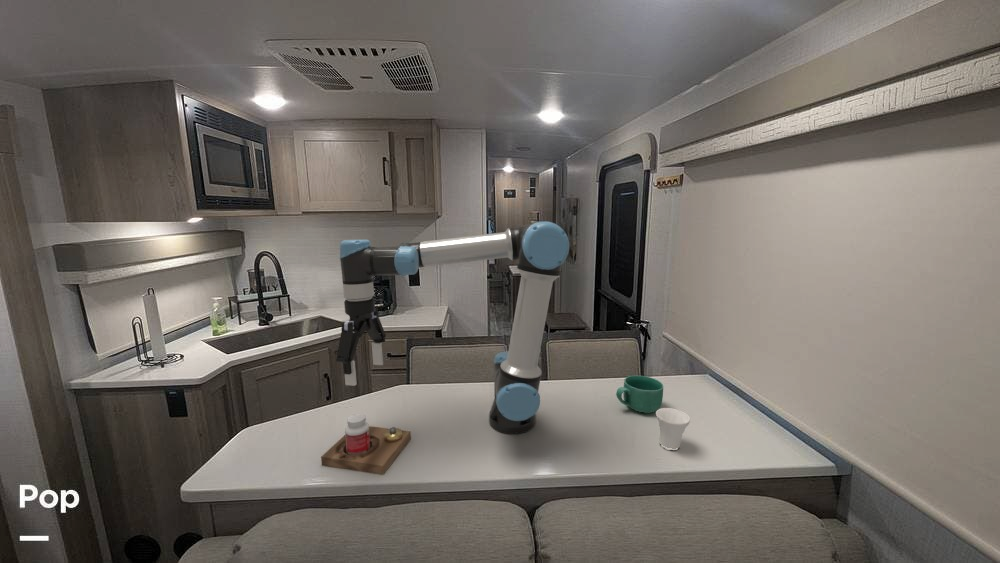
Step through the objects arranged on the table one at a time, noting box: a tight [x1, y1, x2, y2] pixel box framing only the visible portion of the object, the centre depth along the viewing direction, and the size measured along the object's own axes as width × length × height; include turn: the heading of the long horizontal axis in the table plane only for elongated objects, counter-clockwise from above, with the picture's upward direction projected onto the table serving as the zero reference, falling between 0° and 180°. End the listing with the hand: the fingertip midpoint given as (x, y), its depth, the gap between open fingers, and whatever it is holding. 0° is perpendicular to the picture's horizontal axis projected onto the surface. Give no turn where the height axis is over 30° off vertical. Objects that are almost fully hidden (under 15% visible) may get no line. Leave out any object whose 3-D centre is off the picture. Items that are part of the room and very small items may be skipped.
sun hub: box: [384, 426, 402, 443], centre depth 106 cm, size 5×5×3 cm
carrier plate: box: [320, 425, 412, 475], centre depth 104 cm, size 18×16×2 cm
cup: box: [655, 407, 691, 449], centre depth 105 cm, size 9×9×10 cm
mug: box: [615, 375, 664, 414], centre depth 127 cm, size 17×13×10 cm
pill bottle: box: [344, 413, 370, 455], centre depth 101 cm, size 6×6×11 cm
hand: (365, 374), depth 101 cm, fingers open, 13 cm apart
